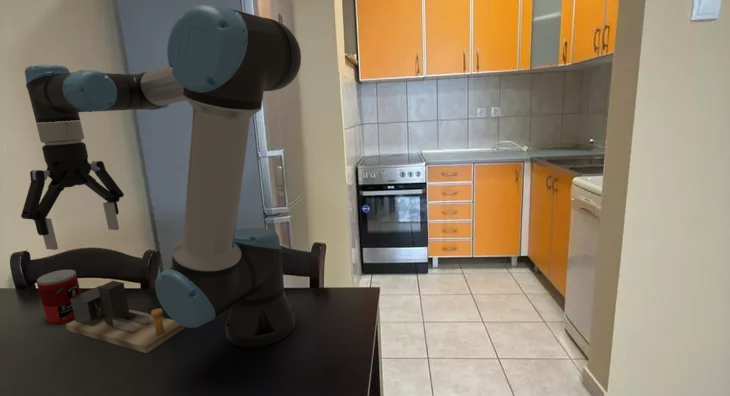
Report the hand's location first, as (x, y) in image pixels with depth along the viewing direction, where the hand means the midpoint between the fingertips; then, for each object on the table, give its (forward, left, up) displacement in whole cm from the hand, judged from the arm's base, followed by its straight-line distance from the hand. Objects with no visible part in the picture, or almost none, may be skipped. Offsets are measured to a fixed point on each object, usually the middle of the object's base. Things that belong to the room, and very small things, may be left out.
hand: (85, 238), depth 90 cm
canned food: (+14, 0, -22) cm, 26 cm away
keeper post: (-18, -1, -20) cm, 27 cm away
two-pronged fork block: (-3, -1, -20) cm, 20 cm away
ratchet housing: (+3, -1, -20) cm, 20 cm away
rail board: (-7, -1, -22) cm, 23 cm away
